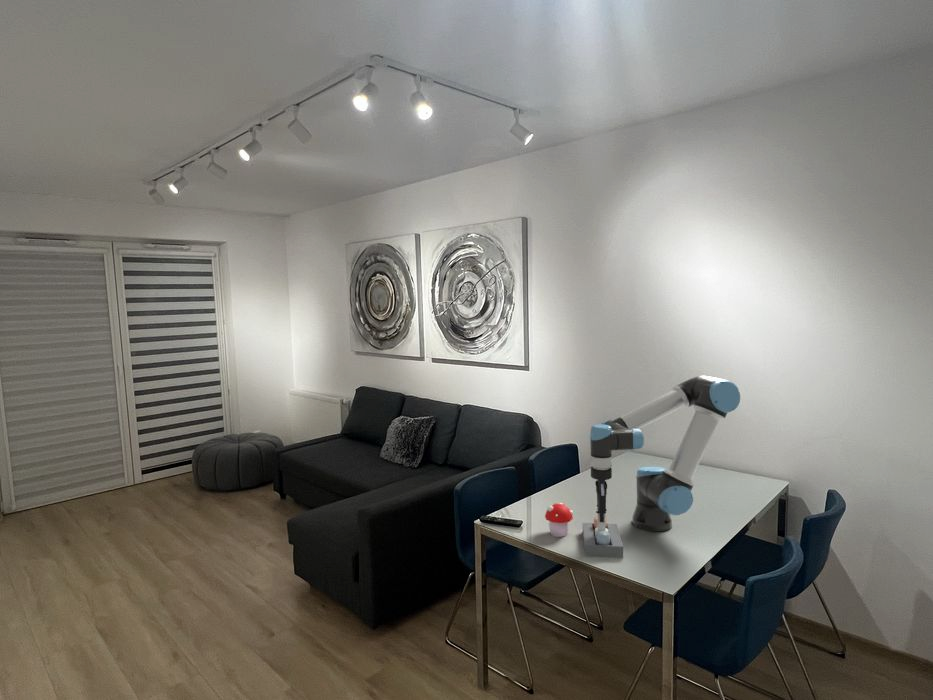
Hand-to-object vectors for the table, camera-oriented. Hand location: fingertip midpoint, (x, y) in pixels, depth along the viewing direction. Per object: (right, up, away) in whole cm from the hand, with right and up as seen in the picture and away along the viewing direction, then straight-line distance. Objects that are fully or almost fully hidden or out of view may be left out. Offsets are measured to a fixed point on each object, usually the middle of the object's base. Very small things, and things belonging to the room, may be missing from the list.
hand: (601, 529), depth 199 cm
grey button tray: (0, -6, 0) cm, 6 cm away
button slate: (-1, -4, -6) cm, 7 cm away
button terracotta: (+1, -3, +7) cm, 7 cm away
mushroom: (-14, -6, +11) cm, 18 cm away
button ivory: (0, -5, 0) cm, 5 cm away
